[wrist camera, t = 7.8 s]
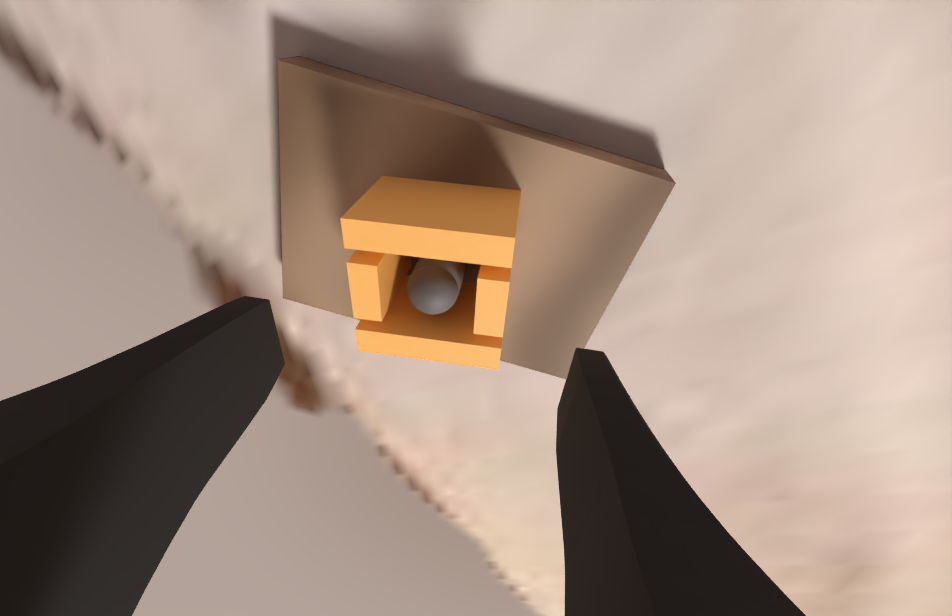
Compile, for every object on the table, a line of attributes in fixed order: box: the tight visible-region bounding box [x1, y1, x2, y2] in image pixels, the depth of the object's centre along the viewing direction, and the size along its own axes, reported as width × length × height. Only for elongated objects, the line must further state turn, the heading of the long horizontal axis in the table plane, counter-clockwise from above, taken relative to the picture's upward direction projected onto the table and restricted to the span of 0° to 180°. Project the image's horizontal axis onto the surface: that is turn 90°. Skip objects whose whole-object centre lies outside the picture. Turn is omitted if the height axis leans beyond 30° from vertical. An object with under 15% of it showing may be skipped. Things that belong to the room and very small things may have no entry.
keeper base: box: [278, 56, 676, 379], centre depth 16 cm, size 14×10×5 cm
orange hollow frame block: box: [340, 176, 521, 370], centre depth 15 cm, size 5×5×4 cm
